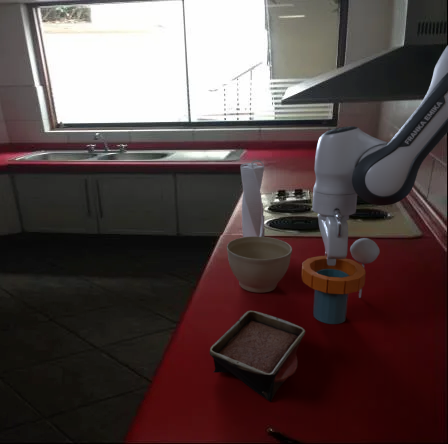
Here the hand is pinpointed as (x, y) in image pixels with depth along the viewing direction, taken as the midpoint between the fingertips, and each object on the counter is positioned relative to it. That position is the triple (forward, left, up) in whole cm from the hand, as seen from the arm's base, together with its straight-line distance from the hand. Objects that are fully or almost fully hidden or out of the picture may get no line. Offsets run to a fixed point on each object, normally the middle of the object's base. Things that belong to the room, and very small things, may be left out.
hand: (330, 261), depth 95 cm
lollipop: (-8, -5, -11) cm, 14 cm away
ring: (0, +5, -2) cm, 6 cm away
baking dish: (+15, +27, -11) cm, 33 cm away
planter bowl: (+16, -8, -11) cm, 21 cm away
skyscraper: (+19, -39, -11) cm, 44 cm away
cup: (0, +5, -11) cm, 12 cm away
